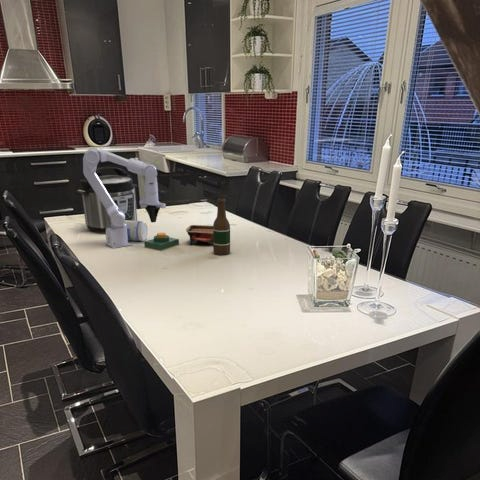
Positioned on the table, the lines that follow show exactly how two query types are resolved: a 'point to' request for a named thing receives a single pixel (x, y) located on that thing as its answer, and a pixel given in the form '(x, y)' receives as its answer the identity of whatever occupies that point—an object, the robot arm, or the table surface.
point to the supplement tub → (136, 230)
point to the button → (161, 235)
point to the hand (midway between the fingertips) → (153, 222)
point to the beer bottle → (221, 230)
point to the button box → (161, 243)
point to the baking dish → (200, 233)
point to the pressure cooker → (118, 190)
